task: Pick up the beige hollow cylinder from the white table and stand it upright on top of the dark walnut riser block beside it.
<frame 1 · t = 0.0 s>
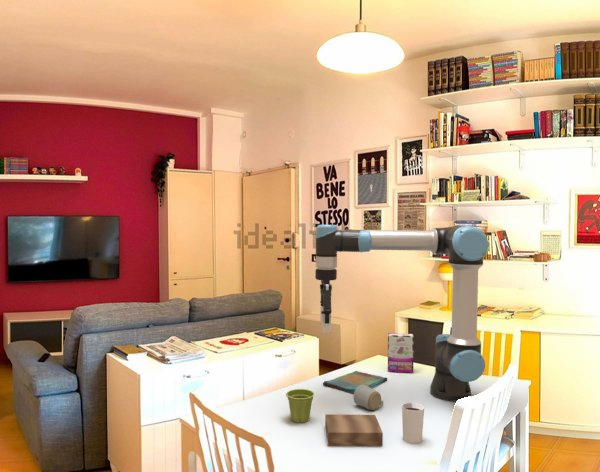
hand: (325, 328, 182), 28 cm above the table, tool pointing down, fingers open, 13 cm apart
dish towel: (355, 385, 210), on the table
plant pot: (300, 419, 171), on the table
walnut riser block: (352, 436, 159), on the table
beige hollow cylinder: (412, 439, 157), on the table
ceramic mug: (369, 407, 184), on the table
candy bar box: (400, 371, 227), on the table
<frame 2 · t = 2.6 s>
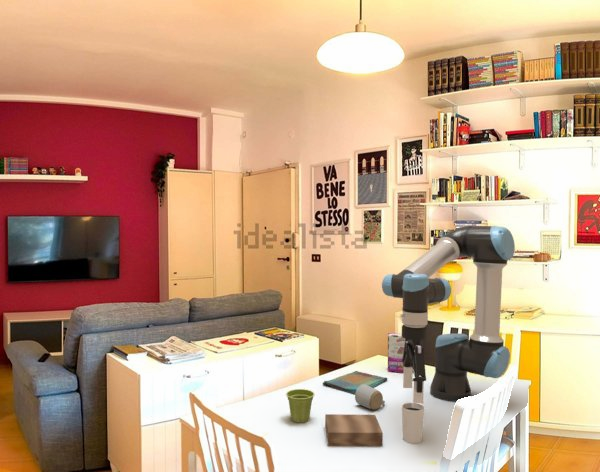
hand: (412, 395, 156), 14 cm above the table, tool pointing down, fingers open, 13 cm apart
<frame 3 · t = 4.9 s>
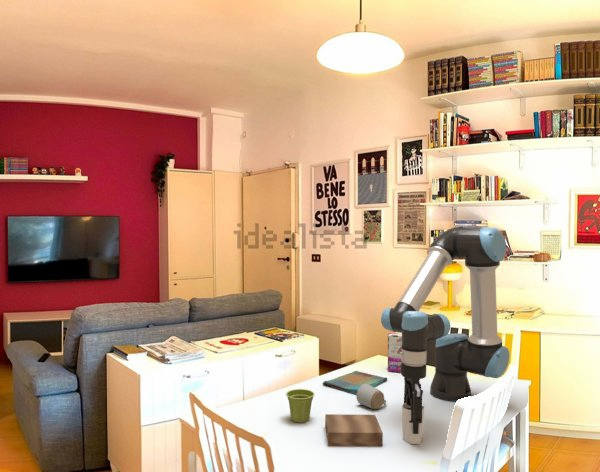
hand: (411, 438, 157), 0 cm above the table, tool pointing down, fingers open, 6 cm apart
beige hollow cylinder: (412, 439, 157), on the table, touching gripper
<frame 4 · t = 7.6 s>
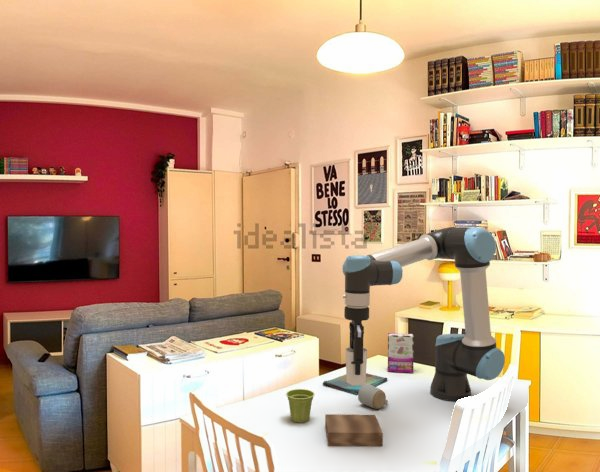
hand: (355, 381, 158), 17 cm above the table, tool pointing down, fingers closed on beige hollow cylinder, 6 cm apart
beige hollow cylinder: (356, 382, 158), point 17 cm above the table, touching gripper
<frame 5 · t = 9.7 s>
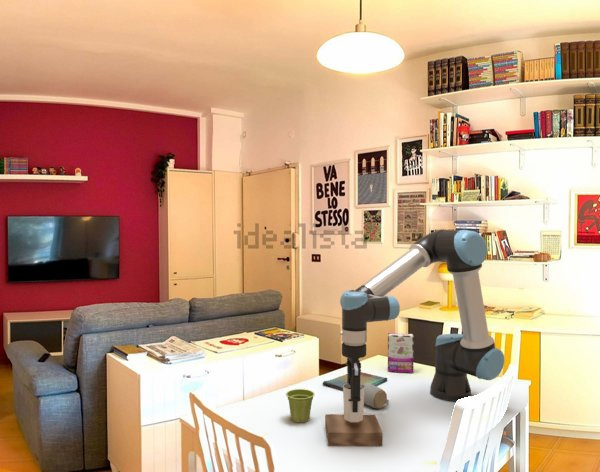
hand: (353, 417, 159), 6 cm above the table, tool pointing down, fingers closed on beige hollow cylinder, 6 cm apart
beige hollow cylinder: (353, 418, 159), point 5 cm above the table, touching gripper
when the fingers open (6 cm above the table, at t = 10.1 s): beige hollow cylinder drops 1 cm, resting on walnut riser block.
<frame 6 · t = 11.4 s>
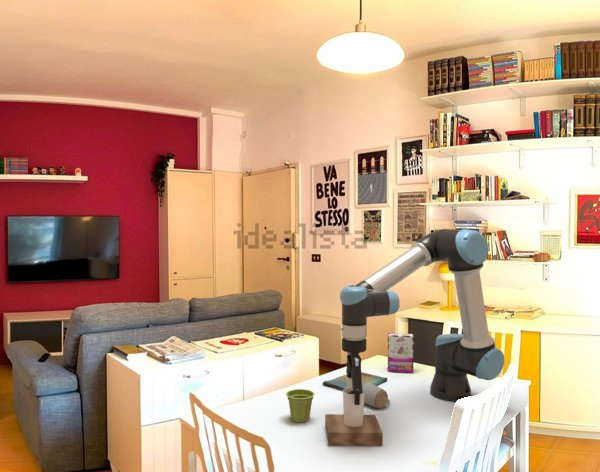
hand: (353, 406, 158), 9 cm above the table, tool pointing down, fingers open, 13 cm apart
beige hollow cylinder: (353, 423, 159), point 4 cm above the table, touching walnut riser block
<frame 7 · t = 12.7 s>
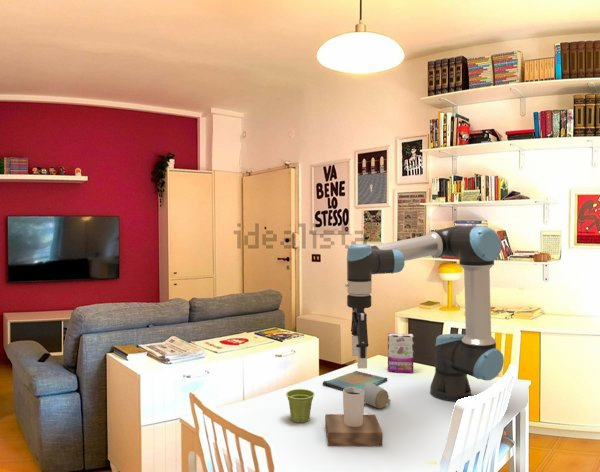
hand: (359, 361, 161), 22 cm above the table, tool pointing down, fingers open, 13 cm apart
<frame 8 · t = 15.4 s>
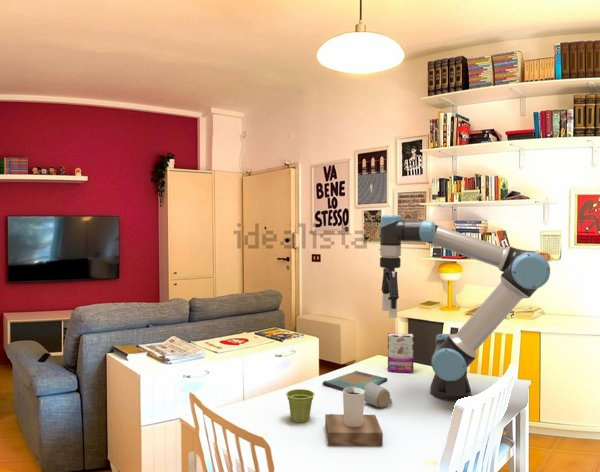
hand: (389, 314, 191), 32 cm above the table, tool pointing down, fingers open, 13 cm apart
at the end: beige hollow cylinder inside the target area on the walnut riser block (0.2 cm from its centre), point 3.8 cm above the walnut riser block's base; beige hollow cylinder tilted 0°; beige hollow cylinder touching walnut riser block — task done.
